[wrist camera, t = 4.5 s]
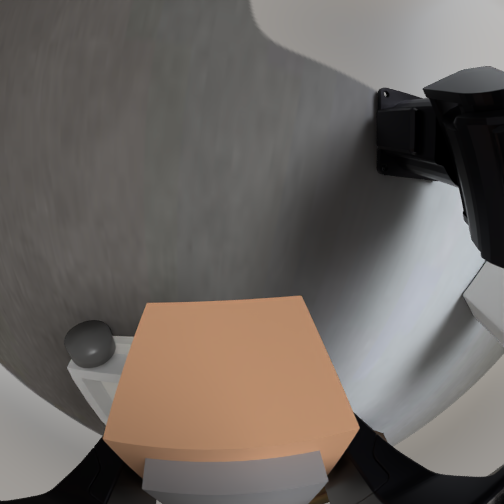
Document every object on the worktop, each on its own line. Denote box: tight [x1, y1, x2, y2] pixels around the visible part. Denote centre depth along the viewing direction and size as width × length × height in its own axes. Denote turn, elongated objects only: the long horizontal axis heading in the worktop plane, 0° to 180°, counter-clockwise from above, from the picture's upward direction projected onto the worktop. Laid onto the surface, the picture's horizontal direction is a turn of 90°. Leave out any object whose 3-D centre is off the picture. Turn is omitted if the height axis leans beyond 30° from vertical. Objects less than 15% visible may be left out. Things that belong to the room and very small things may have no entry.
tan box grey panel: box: [103, 295, 360, 504], centre depth 7 cm, size 5×6×6 cm
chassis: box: [64, 320, 134, 425], centre depth 22 cm, size 21×16×4 cm
